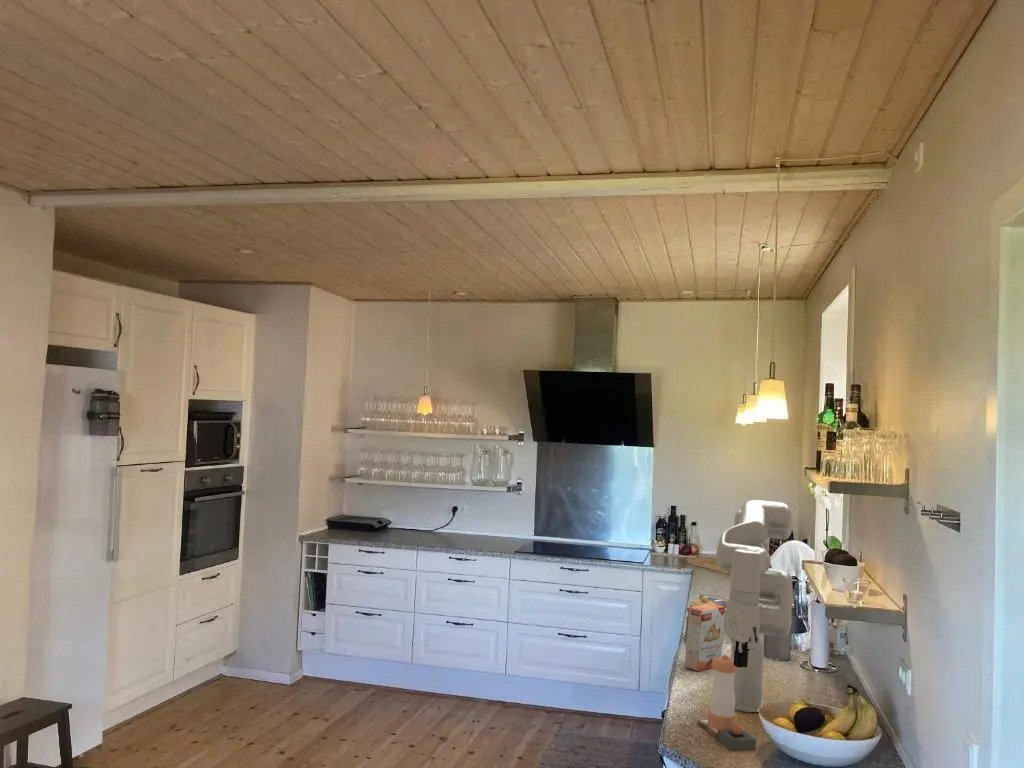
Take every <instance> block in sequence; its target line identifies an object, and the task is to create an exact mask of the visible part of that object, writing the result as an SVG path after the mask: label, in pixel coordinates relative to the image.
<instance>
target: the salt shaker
mask: <svg viewBox="0 0 1024 768" xmlns="http://www.w3.org/2000/svg"><path fill="white" fill-rule="evenodd" d="M712 667H713V668H712V669H713V670H714V672H713V682H712V683H713V685H712V689H711V694H710V699H709V700H710V701H709V709H708V711H707V713H708V714H707V719H708V725H709V726H710V727H712V728H715V729H718V730H720V729H732V724H736V713H735V711H736V709H735V694H734V676H735V672H736V671H737V669H738V667H736V666H734V660H733V659H731V657H729V656H728V655H726V654H723V655H721V657H716V658H714V660H713V661H712Z"/></svg>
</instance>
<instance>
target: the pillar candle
mask: <svg viewBox="0 0 1024 768" xmlns="http://www.w3.org/2000/svg"><path fill="white" fill-rule="evenodd" d="M792 628H793V621H792V620H791V628H790V632H789V634H788V635H787V636H784V637H780V636H772V635H766V634H763V647H764V655H765V656H766V657H765V656H764V657H765V658H767V657H768V658H767V659H769V658H772V659H771V660H773V659H778V660H782V661H784V660H787V659H790V660H791V657H792V656H791V654H792V632H793V629H792ZM778 660H777V661H778Z"/></svg>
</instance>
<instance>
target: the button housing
mask: <svg viewBox="0 0 1024 768" xmlns="http://www.w3.org/2000/svg"><path fill="white" fill-rule="evenodd" d="M716 739H717V740H718V741H719V742H720V743H721V744H723V745H724V746H725V747H727V749H729V750H730V751H743V750H742V749H748V750H756V743H757V742H756V741H757V739H756V738H755V737H754V736H752V735H751V734H749V733H748V732H747V731H745V730H743V729H742V735H734V734H732V729H720V730H718V735H717V738H716Z"/></svg>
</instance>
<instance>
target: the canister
mask: <svg viewBox="0 0 1024 768" xmlns="http://www.w3.org/2000/svg"><path fill="white" fill-rule="evenodd" d="M710 603H713V604H716V603H715V601H711V600H709V599H708V597H707V596H705V595H703V596H701V598H700V599H693V600H692V601H690V602H689V603H688V604H689V607H693V606H699V605H705V604H710ZM689 607H687V608H686V611H687V616H686V618H685V619H686V622H685V633H684V637H685V638H684V639H685V641H686V642H687V630H688V617H689Z"/></svg>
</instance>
